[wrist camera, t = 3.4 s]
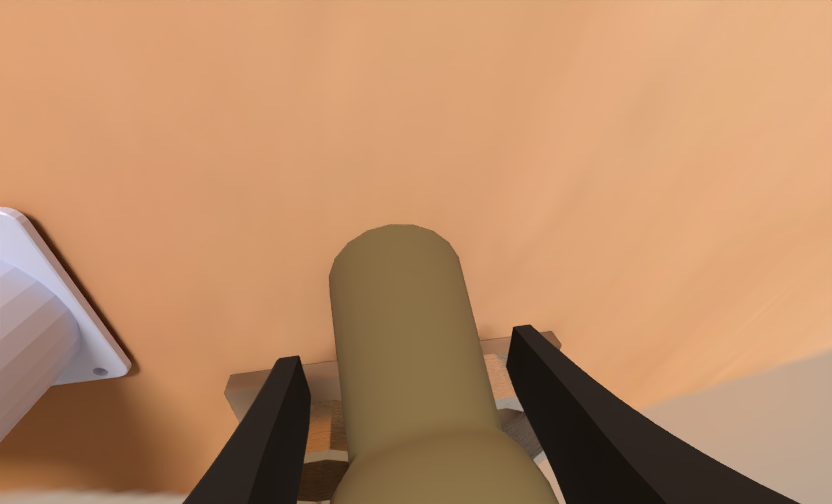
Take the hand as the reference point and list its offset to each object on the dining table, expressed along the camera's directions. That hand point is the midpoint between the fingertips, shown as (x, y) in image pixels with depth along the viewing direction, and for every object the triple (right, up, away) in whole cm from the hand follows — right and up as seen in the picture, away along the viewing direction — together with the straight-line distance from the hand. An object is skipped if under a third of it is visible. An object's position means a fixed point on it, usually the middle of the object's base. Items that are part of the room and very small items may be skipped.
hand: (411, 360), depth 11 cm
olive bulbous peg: (-1, +2, +4) cm, 5 cm away
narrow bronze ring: (-5, -6, +7) cm, 11 cm away
